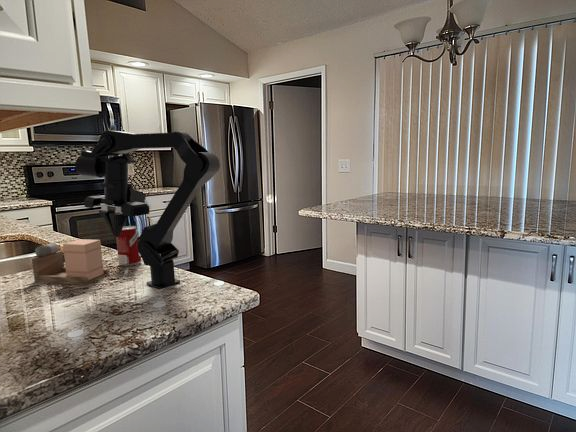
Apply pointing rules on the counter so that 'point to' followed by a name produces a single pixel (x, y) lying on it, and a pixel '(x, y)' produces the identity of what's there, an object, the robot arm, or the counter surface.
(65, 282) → the bay
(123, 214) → the robot arm
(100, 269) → the pink box
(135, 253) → the soda can
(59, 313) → the counter surface
